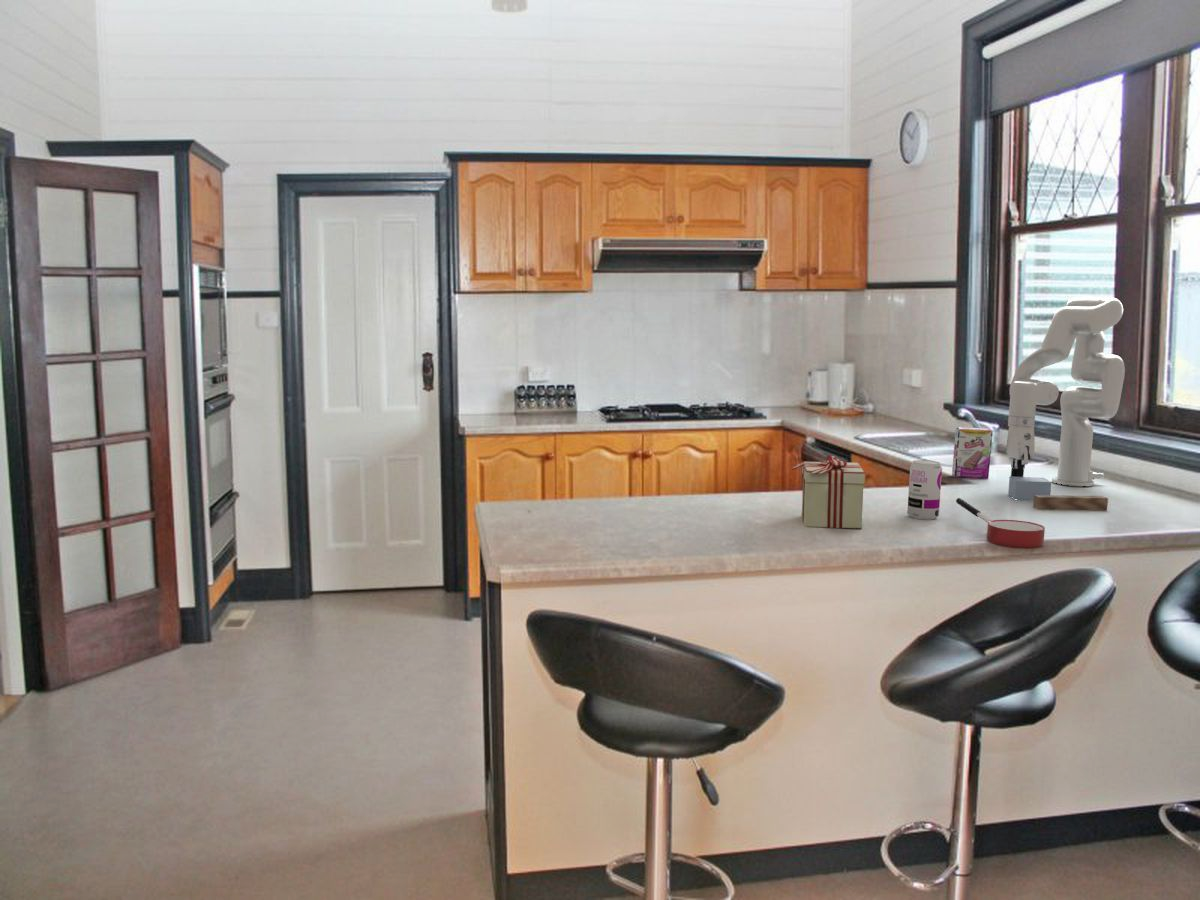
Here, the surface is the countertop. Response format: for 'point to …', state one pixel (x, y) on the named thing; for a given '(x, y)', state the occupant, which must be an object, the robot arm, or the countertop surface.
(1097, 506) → the board
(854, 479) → the gift box
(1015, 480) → the block
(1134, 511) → the countertop surface
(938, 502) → the supplement can
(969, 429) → the candy bar box
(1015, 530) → the frying pan
